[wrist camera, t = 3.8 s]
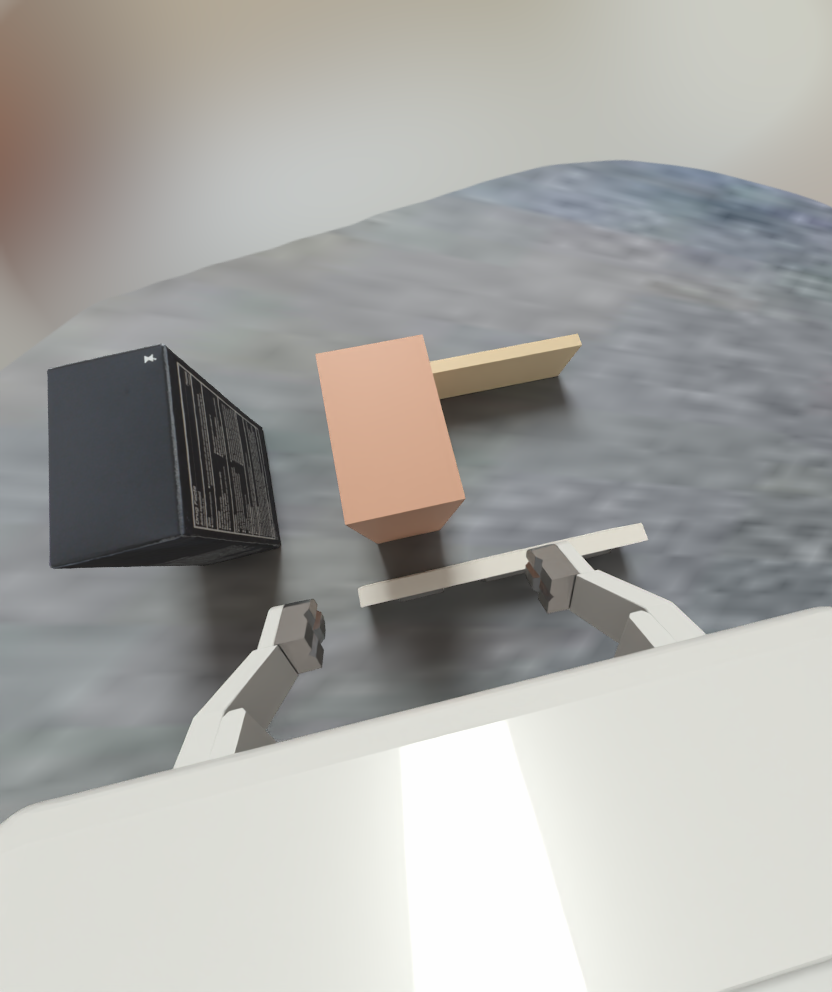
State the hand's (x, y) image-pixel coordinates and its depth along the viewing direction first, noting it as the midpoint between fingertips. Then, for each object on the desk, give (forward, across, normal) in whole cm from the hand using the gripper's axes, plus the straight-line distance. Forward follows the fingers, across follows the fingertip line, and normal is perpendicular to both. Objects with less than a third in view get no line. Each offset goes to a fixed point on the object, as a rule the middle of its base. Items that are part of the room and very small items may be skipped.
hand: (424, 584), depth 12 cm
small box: (+15, +13, +2) cm, 20 cm away
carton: (+14, 0, +4) cm, 14 cm away
